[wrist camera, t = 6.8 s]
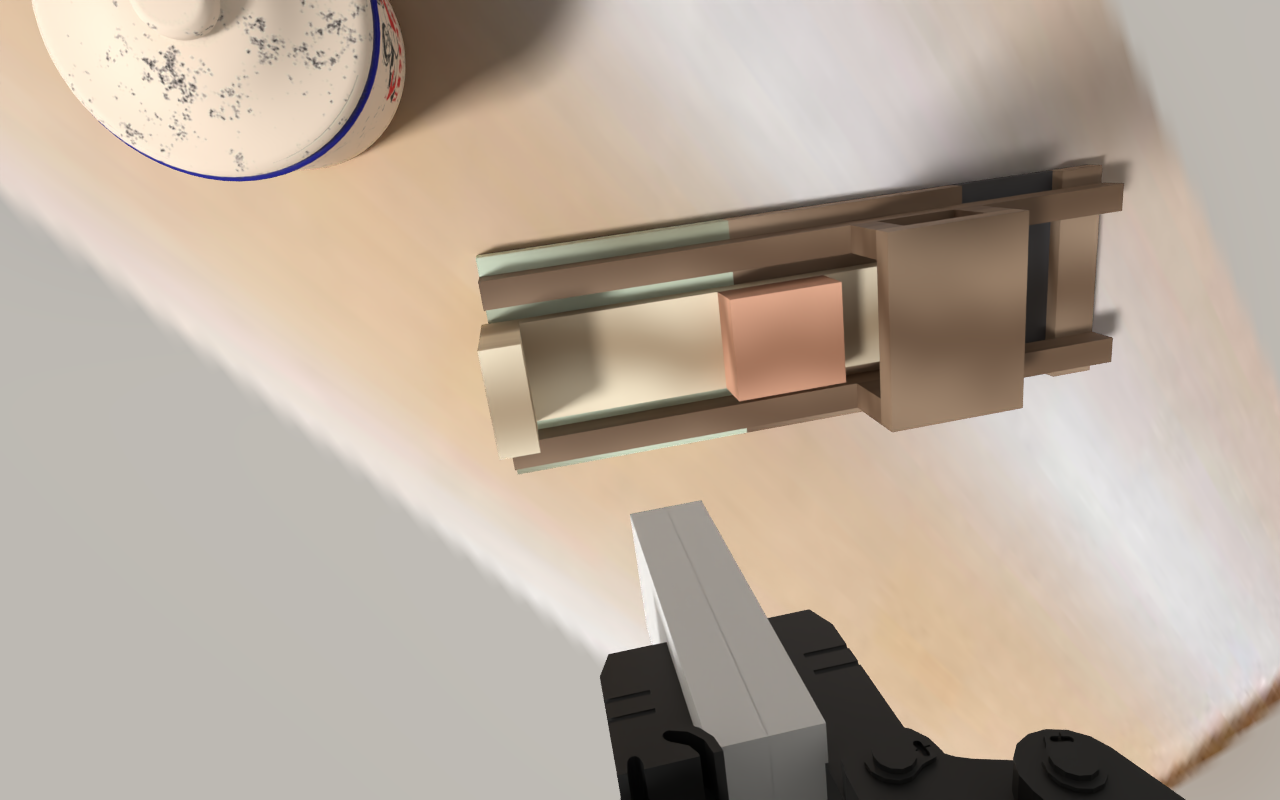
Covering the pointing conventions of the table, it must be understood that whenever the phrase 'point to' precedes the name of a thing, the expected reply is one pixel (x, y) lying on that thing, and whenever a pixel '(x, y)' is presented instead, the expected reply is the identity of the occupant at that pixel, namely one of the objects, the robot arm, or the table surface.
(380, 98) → the teacup with lid
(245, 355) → the table surface
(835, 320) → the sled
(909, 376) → the tunnel board
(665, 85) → the table surface
